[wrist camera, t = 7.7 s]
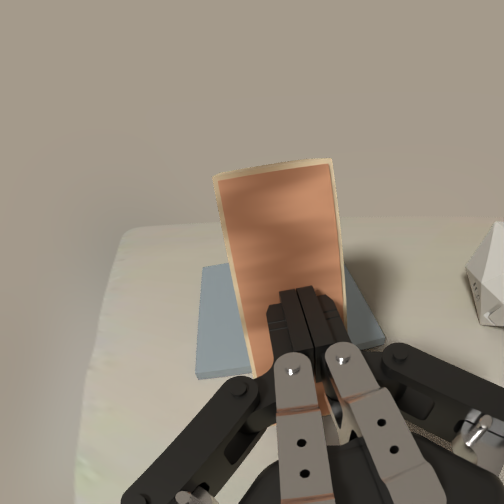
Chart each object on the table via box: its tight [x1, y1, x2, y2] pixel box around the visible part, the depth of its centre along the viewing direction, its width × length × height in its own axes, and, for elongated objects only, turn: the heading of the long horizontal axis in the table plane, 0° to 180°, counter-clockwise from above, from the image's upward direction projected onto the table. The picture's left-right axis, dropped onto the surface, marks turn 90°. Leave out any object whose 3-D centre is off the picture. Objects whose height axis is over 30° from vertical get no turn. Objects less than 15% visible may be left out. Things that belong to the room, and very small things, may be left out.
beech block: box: [212, 158, 348, 426], centre depth 17 cm, size 5×5×14 cm
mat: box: [195, 263, 385, 380], centre depth 28 cm, size 14×14×1 cm
